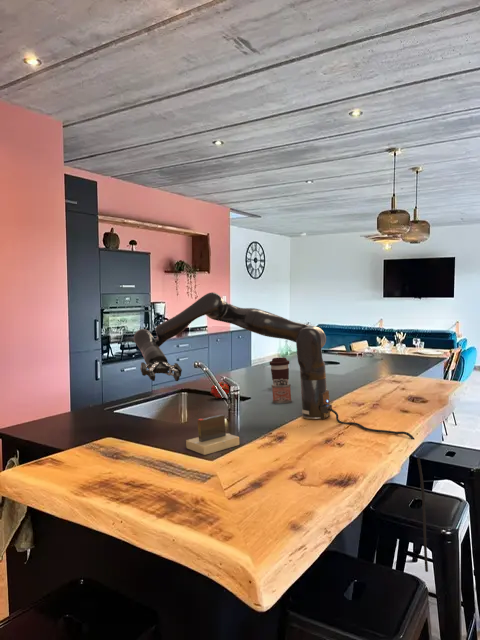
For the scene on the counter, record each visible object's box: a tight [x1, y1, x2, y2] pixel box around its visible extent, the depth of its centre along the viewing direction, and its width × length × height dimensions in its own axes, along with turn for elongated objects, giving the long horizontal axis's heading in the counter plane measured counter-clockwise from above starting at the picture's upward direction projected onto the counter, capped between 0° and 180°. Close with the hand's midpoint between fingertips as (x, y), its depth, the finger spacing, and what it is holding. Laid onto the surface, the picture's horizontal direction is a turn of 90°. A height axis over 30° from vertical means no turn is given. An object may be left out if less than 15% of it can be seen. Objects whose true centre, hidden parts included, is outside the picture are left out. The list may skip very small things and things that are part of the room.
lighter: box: [271, 379, 292, 404], centre depth 207 cm, size 8×3×10 cm, turn 84°
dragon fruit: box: [209, 381, 230, 400], centre depth 224 cm, size 8×8×12 cm
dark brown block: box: [197, 413, 227, 442], centre depth 148 cm, size 9×2×7 cm, turn 128°
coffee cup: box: [269, 356, 291, 385], centre depth 241 cm, size 10×10×15 cm
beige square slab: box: [185, 432, 240, 456], centre depth 149 cm, size 13×13×3 cm
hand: (166, 378), depth 169 cm, fingers open, 8 cm apart
